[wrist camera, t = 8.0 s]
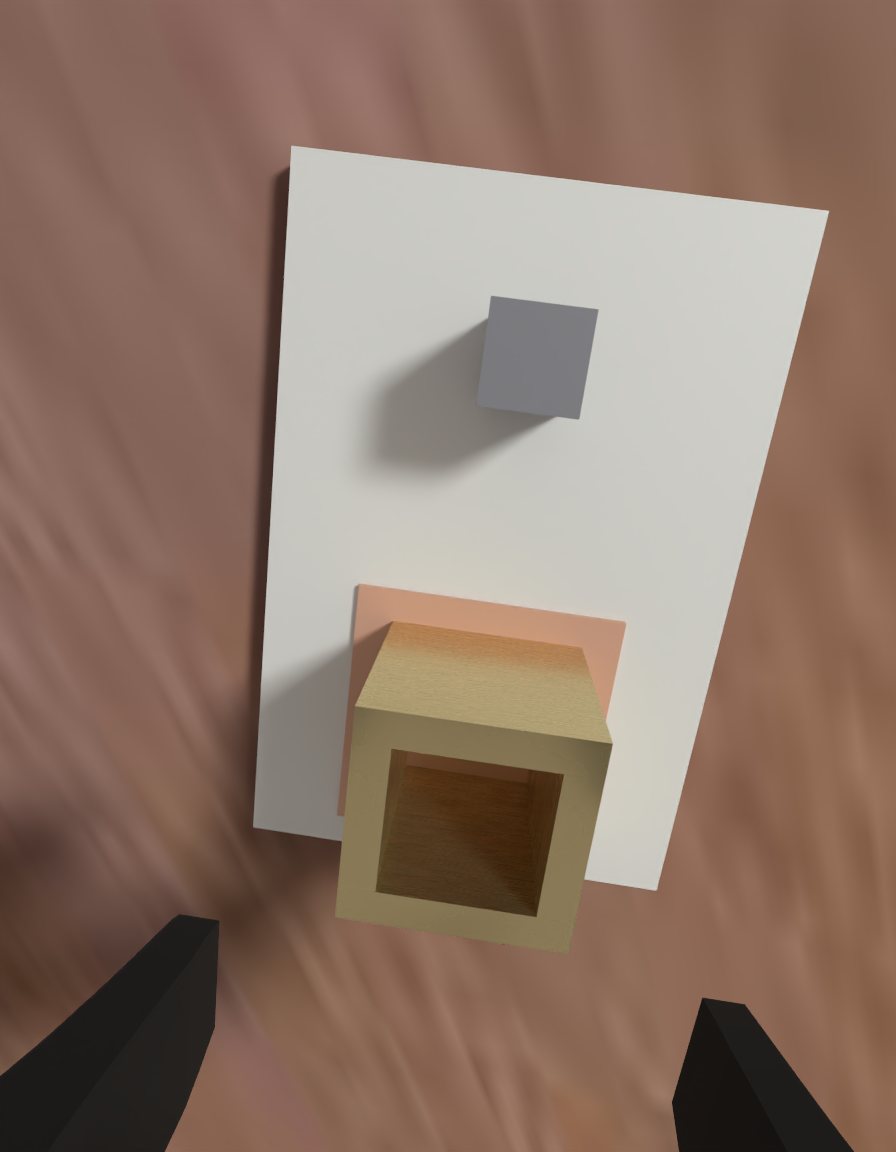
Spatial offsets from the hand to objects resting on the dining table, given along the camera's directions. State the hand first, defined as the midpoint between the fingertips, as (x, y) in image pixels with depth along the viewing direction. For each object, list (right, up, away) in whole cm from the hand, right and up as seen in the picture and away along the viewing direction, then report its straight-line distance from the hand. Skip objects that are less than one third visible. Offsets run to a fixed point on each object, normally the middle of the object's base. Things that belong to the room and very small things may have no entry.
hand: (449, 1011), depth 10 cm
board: (+1, +7, +8) cm, 11 cm away
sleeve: (+1, +2, +8) cm, 9 cm away
